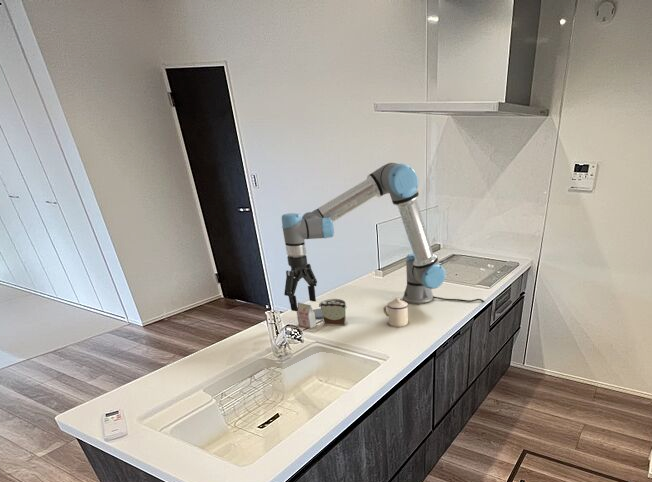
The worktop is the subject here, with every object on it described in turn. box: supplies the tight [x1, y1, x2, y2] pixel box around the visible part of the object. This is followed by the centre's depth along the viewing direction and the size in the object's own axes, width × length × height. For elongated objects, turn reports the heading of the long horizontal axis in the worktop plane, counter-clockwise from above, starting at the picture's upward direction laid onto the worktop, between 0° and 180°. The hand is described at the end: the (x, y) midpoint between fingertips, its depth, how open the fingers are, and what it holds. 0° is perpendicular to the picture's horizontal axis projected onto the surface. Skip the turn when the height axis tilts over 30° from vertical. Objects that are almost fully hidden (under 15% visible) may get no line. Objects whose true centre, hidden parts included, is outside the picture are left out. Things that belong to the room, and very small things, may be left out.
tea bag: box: [296, 302, 317, 329], centre depth 187 cm, size 4×7×10 cm, turn 63°
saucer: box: [313, 308, 323, 320], centre depth 201 cm, size 11×11×1 cm
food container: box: [318, 298, 348, 326], centre depth 191 cm, size 12×6×10 cm, turn 84°
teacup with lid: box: [383, 297, 409, 328], centre depth 191 cm, size 12×9×12 cm
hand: (304, 305), depth 185 cm, fingers open, 13 cm apart
